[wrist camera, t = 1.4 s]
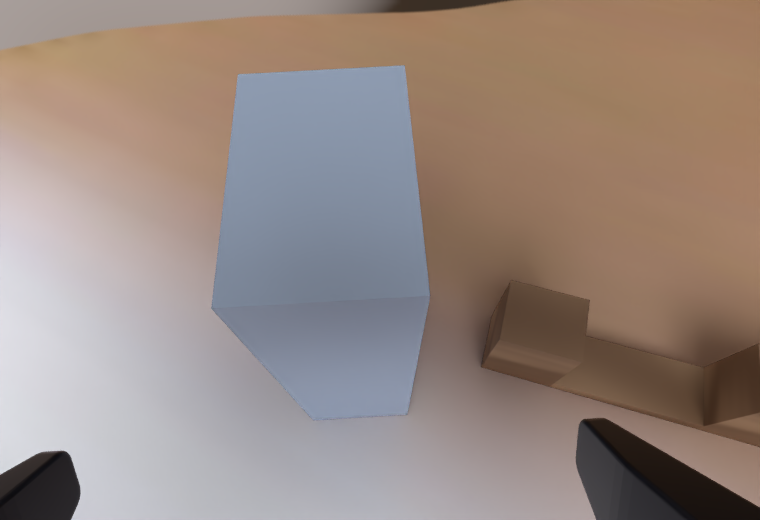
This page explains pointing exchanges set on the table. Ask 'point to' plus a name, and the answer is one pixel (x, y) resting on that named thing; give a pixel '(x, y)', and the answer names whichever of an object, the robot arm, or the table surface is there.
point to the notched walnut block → (619, 366)
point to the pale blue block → (325, 238)
